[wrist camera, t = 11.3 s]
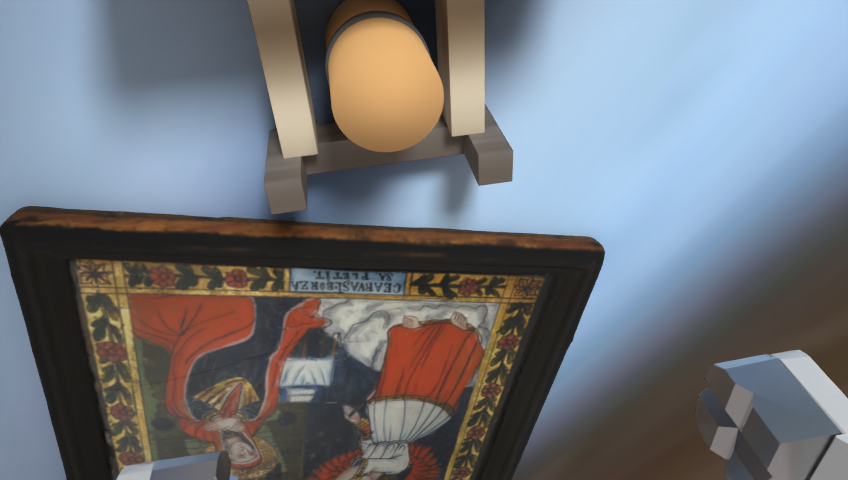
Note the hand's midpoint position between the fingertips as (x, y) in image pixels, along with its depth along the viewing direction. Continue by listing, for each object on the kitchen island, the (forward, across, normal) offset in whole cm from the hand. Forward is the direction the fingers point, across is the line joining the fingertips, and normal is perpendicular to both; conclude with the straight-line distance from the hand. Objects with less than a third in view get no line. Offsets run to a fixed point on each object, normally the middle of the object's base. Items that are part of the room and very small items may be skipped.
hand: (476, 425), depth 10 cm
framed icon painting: (+22, +7, +27) cm, 35 cm away
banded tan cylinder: (+21, 0, 0) cm, 21 cm away
